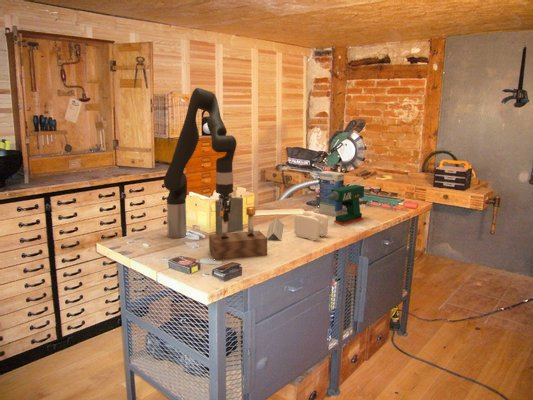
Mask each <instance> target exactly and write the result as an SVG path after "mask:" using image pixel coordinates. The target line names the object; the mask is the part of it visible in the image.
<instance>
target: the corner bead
mask: <svg viewBox="0 0 533 400" xmlns="http://www.w3.org/2000/svg"><path fill="white" fill-rule="evenodd" d="M284 225H285V224H284V223H282V221H281V220H280V219H279V218H278V216H276V217H275V219H273V220H272V221H271V222H270V223H269V225H268V229H267V233H266V235H265V236H266V237H267V240H268V239H269V238H270V237H272V236H273V235H275V237H276V238H277V239H278V240H279V241H280V242H282V239H283V234H284V233H283V232H284Z"/></svg>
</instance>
